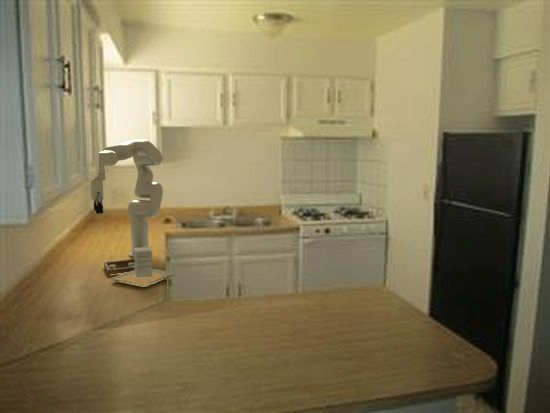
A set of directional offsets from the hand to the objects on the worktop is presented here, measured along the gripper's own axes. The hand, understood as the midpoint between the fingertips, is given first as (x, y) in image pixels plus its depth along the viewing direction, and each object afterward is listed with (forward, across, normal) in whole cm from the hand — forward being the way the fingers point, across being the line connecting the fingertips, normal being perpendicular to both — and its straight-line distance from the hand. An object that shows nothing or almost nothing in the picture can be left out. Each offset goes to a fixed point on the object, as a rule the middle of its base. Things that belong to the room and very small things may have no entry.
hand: (98, 211), depth 229 cm
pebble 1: (+30, -3, +6) cm, 31 cm away
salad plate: (+31, +24, +16) cm, 43 cm away
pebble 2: (+31, -3, +15) cm, 34 cm away
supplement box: (+28, +24, +16) cm, 40 cm away
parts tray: (+30, +2, +10) cm, 32 cm away
